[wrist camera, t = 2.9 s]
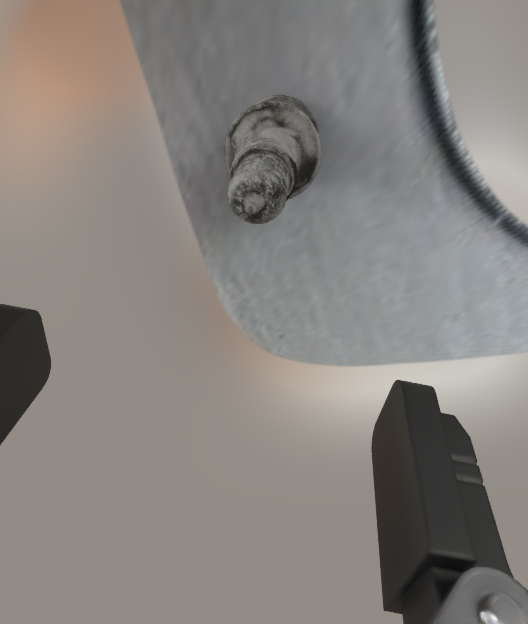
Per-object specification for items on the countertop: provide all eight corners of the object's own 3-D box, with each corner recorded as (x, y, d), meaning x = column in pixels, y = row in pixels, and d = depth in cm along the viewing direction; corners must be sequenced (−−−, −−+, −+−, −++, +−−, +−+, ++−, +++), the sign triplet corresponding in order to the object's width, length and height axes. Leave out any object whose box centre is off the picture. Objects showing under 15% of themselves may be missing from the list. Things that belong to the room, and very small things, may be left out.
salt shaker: (226, 97, 28) (170, 153, 18) (318, 82, 27) (309, 134, 17) (244, 186, 31) (203, 272, 22) (326, 176, 30) (322, 263, 21)
